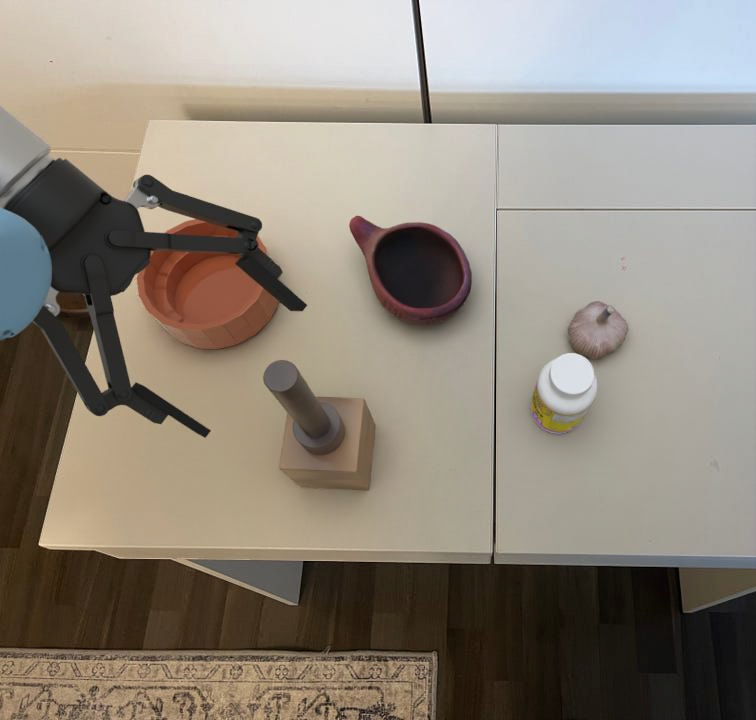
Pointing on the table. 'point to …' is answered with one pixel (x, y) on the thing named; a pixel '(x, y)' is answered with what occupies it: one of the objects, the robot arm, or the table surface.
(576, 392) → the supplement bottle
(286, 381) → the cylinder
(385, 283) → the bowl
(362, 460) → the cube
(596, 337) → the garlic bulb
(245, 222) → the robot arm
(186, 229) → the mixing bowl
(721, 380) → the table surface
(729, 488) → the table surface
